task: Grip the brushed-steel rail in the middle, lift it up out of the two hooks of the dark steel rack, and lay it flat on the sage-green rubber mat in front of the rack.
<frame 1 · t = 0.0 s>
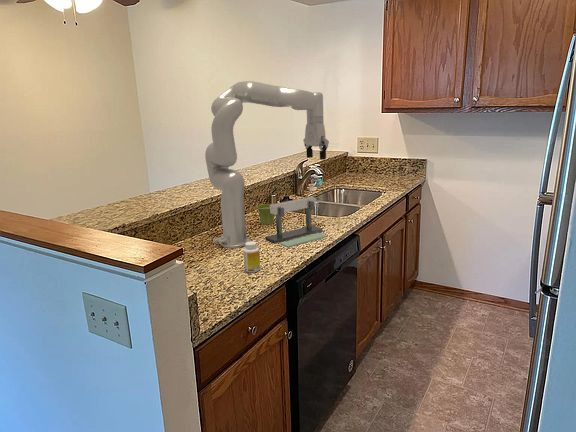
hand: (316, 158, 205), 31 cm above the worktop, tool pointing down, fingers open, 9 cm apart
supplement bottle: (252, 270, 158), on the worktop
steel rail: (293, 209, 192), point 12 cm above the worktop, touching hook rack
plant pot: (267, 223, 217), on the worktop
hook rack: (294, 235, 195), on the worktop
rubber mat: (304, 240, 188), on the worktop
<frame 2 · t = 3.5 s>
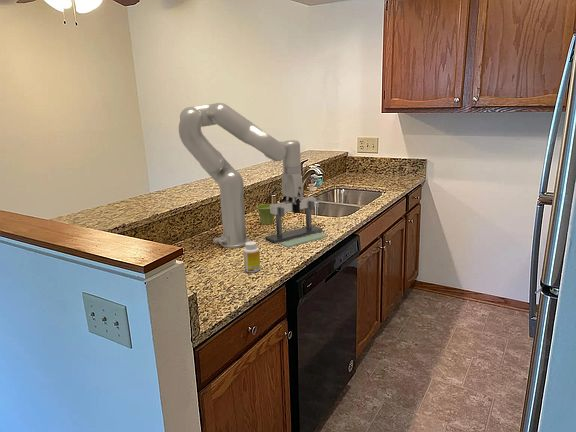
hand: (293, 211, 193), 11 cm above the worktop, tool pointing down, fingers closed on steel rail, 3 cm apart
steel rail: (293, 209, 192), point 12 cm above the worktop, touching gripper, hook rack
everything else where it was.
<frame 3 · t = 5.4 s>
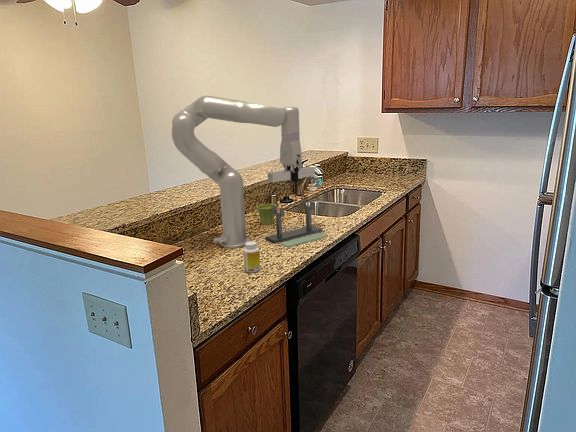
hand: (292, 180, 189), 25 cm above the worktop, tool pointing down, fingers closed on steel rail, 3 cm apart
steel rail: (292, 178, 189), point 26 cm above the worktop, touching gripper
everything else where it was.
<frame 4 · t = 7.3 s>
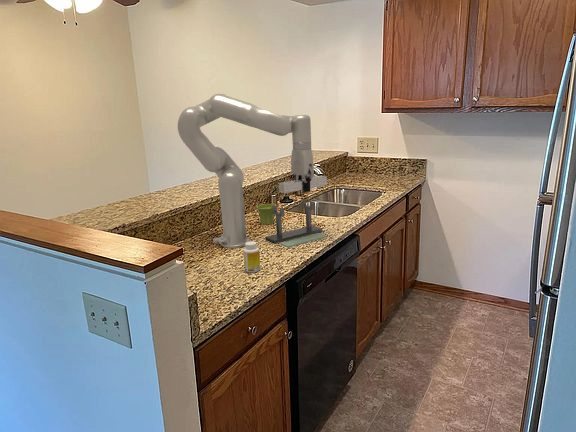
hand: (303, 190, 183), 22 cm above the worktop, tool pointing down, fingers closed on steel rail, 3 cm apart
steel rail: (303, 188, 183), point 23 cm above the worktop, touching gripper
everything else where it was.
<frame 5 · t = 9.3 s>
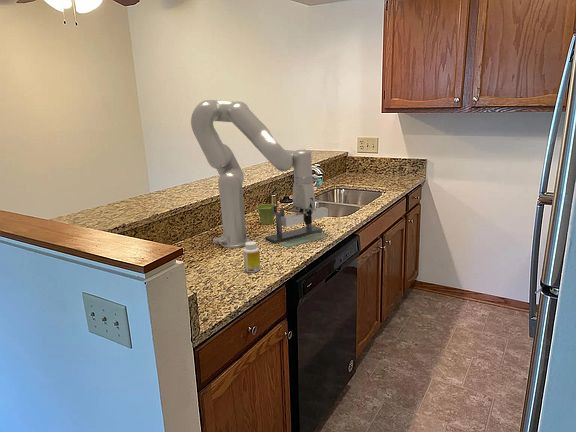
hand: (305, 222, 187), 8 cm above the worktop, tool pointing down, fingers closed on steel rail, 3 cm apart
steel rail: (305, 220, 186), point 9 cm above the worktop, touching gripper
everything else where it was.
when the fingers open (2 cm above the worktop, at t = 11.0 s): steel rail drops 2 cm, resting on rubber mat.
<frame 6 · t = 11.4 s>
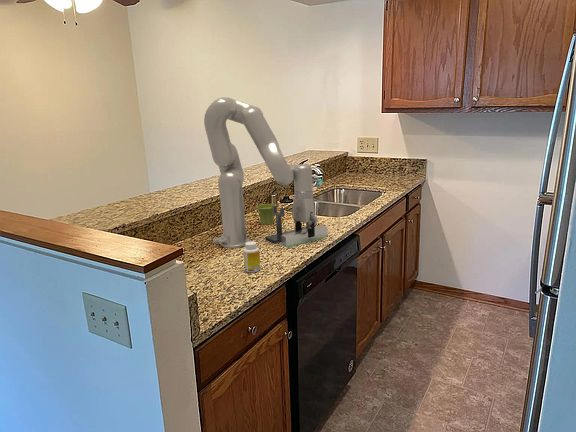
hand: (304, 234, 188), 3 cm above the worktop, tool pointing down, fingers open, 8 cm apart
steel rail: (304, 239, 189), point 1 cm above the worktop, touching rubber mat
everything else where it was.
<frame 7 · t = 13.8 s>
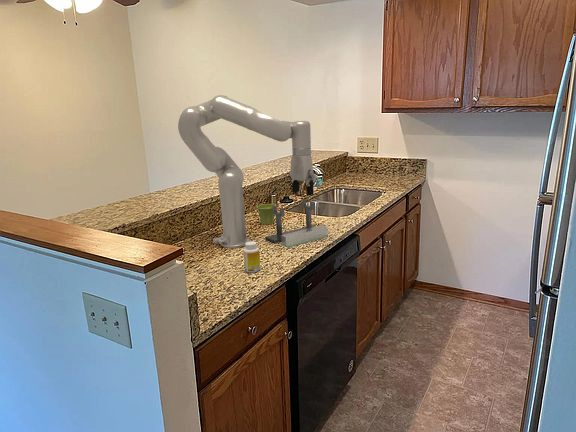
hand: (302, 193, 184), 20 cm above the worktop, tool pointing down, fingers open, 9 cm apart
nothing on the worktop moved.
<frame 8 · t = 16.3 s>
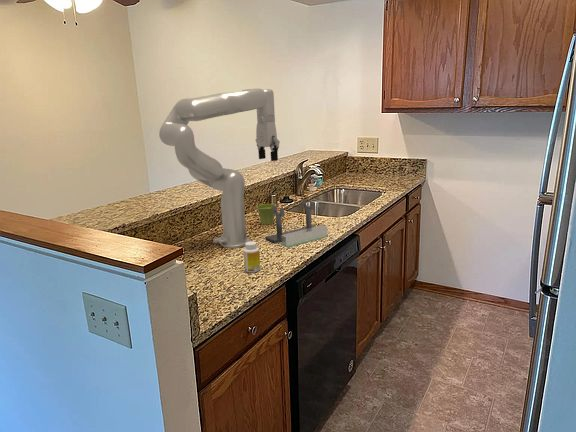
hand: (268, 159, 192), 33 cm above the worktop, tool pointing down, fingers open, 9 cm apart
nothing on the worktop moved.
at the end: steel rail inside the target area (0.1 cm from its centre), point 0.6 cm above the worktop; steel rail tilted 0°; the gripper is holding nothing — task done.
